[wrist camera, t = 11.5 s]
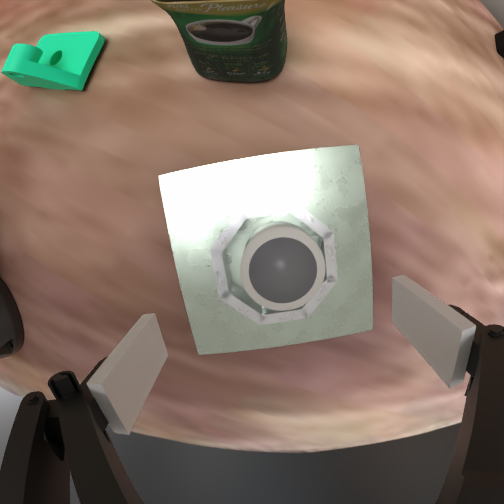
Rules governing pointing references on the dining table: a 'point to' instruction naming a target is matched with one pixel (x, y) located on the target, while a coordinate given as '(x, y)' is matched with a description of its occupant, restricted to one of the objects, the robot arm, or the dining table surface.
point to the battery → (500, 42)
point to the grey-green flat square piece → (253, 217)
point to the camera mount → (55, 60)
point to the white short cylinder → (282, 266)
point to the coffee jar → (232, 37)
